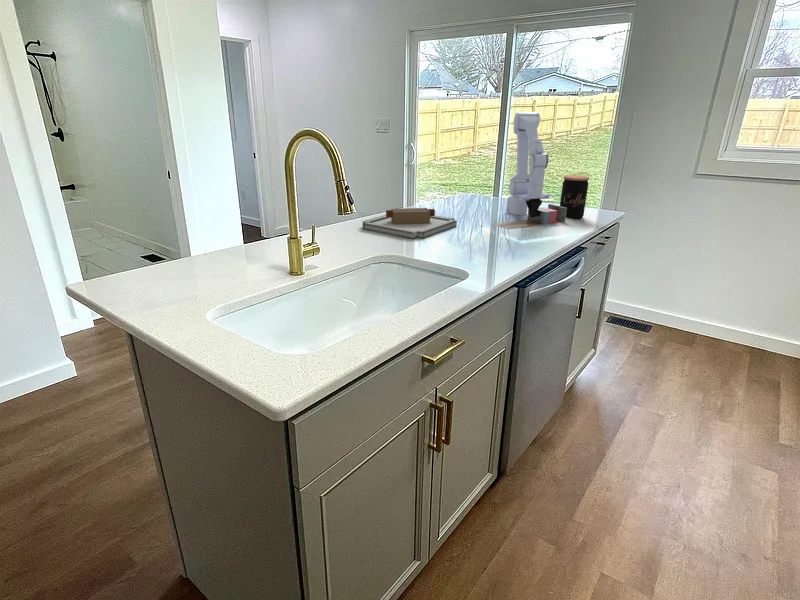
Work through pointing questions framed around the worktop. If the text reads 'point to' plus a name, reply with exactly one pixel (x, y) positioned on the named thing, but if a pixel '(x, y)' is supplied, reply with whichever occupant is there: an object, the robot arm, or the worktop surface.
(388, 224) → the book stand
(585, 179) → the coffee jar
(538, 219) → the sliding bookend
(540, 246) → the worktop surface
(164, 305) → the worktop surface
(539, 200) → the robot arm
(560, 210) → the book shelf
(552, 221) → the red rectangular block
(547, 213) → the slate book
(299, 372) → the worktop surface
